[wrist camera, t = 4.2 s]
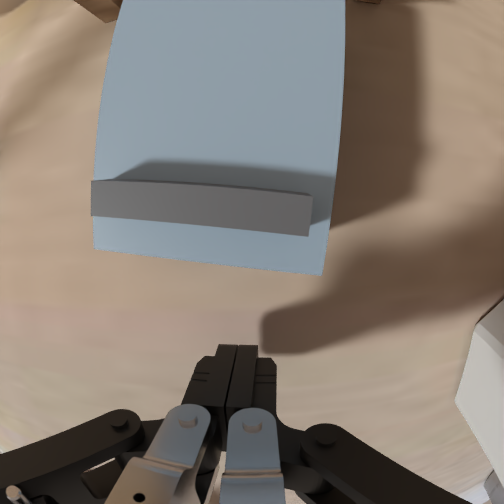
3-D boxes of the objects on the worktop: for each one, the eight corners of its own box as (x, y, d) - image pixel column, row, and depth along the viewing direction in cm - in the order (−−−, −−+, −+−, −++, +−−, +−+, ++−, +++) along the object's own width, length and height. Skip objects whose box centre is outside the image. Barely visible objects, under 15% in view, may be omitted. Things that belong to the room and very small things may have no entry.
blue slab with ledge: (322, 20, 9) (349, -62, 4) (304, 236, 12) (328, 291, 6) (177, 15, 9) (124, -56, 4) (153, 221, 12) (73, 258, 6)
